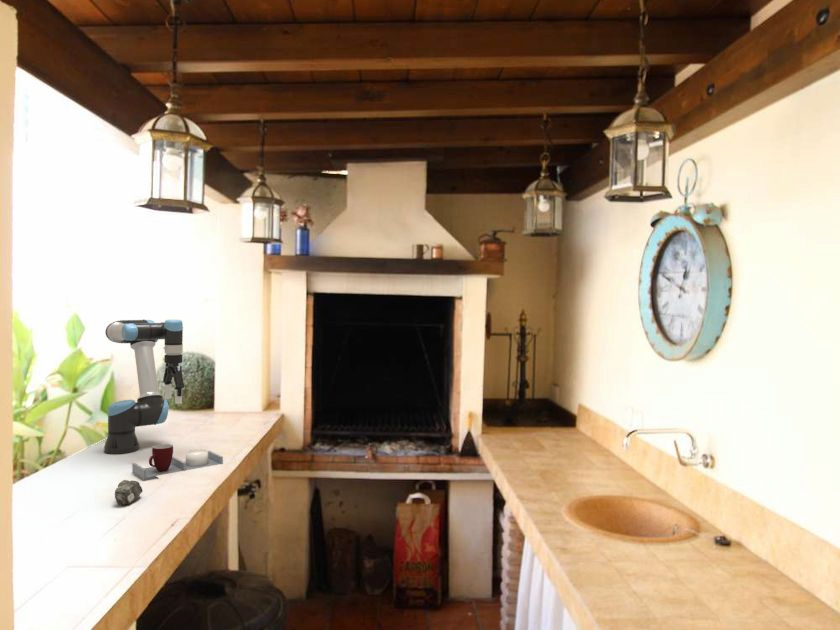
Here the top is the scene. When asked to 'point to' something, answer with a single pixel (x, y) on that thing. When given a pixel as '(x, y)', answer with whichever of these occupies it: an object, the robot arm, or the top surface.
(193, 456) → the white egg shape
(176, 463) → the rack
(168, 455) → the red cup
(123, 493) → the stone
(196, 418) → the top surface
